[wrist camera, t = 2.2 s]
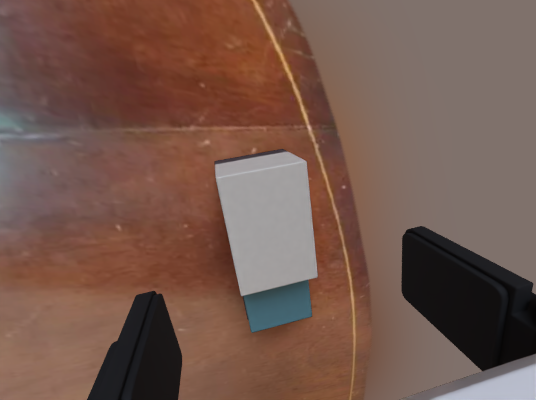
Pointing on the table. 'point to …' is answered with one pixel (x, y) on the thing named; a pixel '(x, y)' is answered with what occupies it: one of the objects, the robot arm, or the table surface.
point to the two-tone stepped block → (269, 234)
